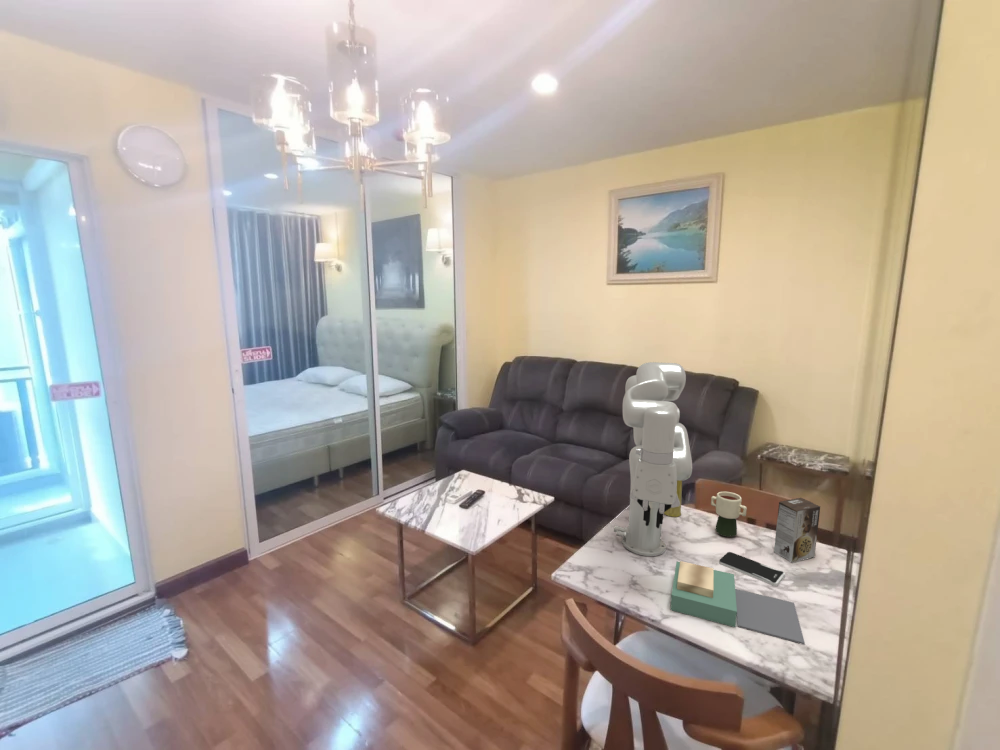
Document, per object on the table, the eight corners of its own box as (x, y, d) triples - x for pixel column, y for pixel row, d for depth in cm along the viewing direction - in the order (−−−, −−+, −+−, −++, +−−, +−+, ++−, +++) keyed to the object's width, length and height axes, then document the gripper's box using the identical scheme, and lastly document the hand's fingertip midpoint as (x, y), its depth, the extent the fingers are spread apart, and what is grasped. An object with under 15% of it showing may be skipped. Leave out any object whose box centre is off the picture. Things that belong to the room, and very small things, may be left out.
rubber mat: (737, 626, 105) (737, 625, 105) (735, 590, 118) (735, 588, 118) (804, 644, 100) (804, 642, 100) (793, 604, 113) (794, 602, 113)
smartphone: (728, 551, 136) (786, 572, 125) (728, 555, 136) (785, 577, 125) (718, 560, 131) (776, 584, 120) (717, 565, 131) (776, 588, 120)
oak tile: (676, 589, 112) (677, 581, 112) (679, 567, 121) (680, 560, 121) (712, 597, 109) (713, 590, 109) (712, 575, 118) (713, 568, 118)
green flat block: (670, 609, 111) (671, 594, 110) (675, 574, 125) (676, 561, 124) (735, 627, 105) (736, 611, 104) (732, 588, 119) (734, 574, 119)
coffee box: (795, 546, 140) (801, 497, 137) (815, 557, 134) (821, 506, 131) (772, 551, 137) (778, 500, 134) (792, 563, 131) (798, 510, 128)
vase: (659, 509, 164) (662, 471, 162) (676, 509, 165) (678, 471, 163) (667, 517, 158) (670, 478, 156) (684, 516, 159) (687, 477, 157)
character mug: (748, 536, 146) (752, 498, 144) (738, 544, 141) (742, 504, 139) (713, 524, 154) (716, 487, 152) (703, 531, 149) (707, 493, 147)
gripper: (622, 455, 115) (618, 524, 117) (690, 465, 108) (685, 538, 111) (627, 447, 121) (623, 512, 124) (692, 456, 115) (686, 524, 118)
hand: (652, 524), depth 118 cm, fingers closed
